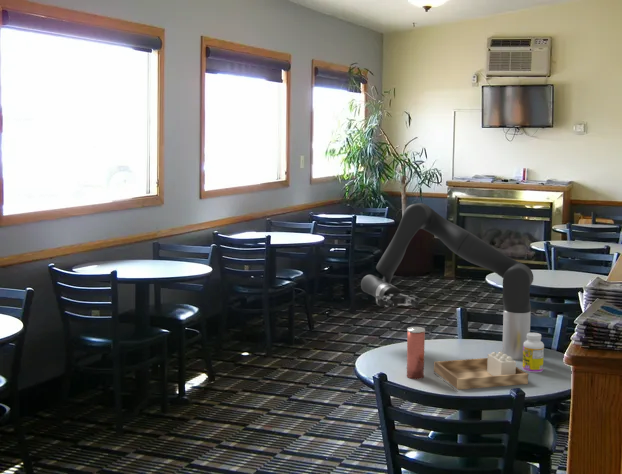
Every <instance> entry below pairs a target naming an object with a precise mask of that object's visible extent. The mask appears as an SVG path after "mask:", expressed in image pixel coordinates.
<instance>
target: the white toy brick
mask: <svg viewBox="0 0 622 474" xmlns="http://www.w3.org/2000/svg"><path fill="white" fill-rule="evenodd" d="M487 358H488V360H487V372H488V373H490V374H491V375H493V376H497V375H510V374H516V367H517V360H516V361H515V360H513V359H512V357H510V356H508V355H507V354H503V352H502V350H500V351H498V353H497V352H496V351H492V352H491V353H487Z"/></svg>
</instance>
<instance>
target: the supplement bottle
mask: <svg viewBox="0 0 622 474" xmlns="http://www.w3.org/2000/svg"><path fill="white" fill-rule="evenodd" d="M541 340H542V334H541V333H538V332H531V333H527V341H525V342H524V344H523V360H522V371H524V372H527V373H542V372H544V353H545V351H544V350H545V344H544V342H543V341H541Z"/></svg>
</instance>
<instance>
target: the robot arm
mask: <svg viewBox="0 0 622 474" xmlns="http://www.w3.org/2000/svg"><path fill="white" fill-rule="evenodd" d="M419 230H424V231H425V232H428V233H430V234H431V235H433V236H435V237H436V238H438V240H440V242H442V243H443V244H444V245H445V246H446V247H447V248H448V249H449V250H450V251H451V252H453V253H454V254H455V255H457V256H459V257H460V258H462V260H465V261H467V262H468V263H471V264H473V265H476V266H479V267H481V268H484V269H487V270H489V271H491V272H492V273H495V274H497V275H498V276H499V277H501V278H502V304H503V315H502V316H503V317H502V324H503V325H502V347H501V348H502V349H501V351H502V352H503V354H507V355H508V356H510V357H512V360H514V361H515V360H516V361H519V360H520V361H523V344H524V342H525V341H527V333H532V332H531V313H532V312H531V311H532V310H531V309H532V305H531V301H530V292H531V291H530V290H531V289H530V288H531V287H530V286H531V285H532V284H533V282H534V273H533V271H532V270H531V268H530V267H529V266H528V265H526V264H524V263H522V262H520V261H517V260H515V259H513V258H511V257H509V256H507V255H505V254H504V253H503V252H501V251H499V250H497V248H495V247H493V246H492V245H490V244H489V243H487V242H485V241H484V240H483V239H481V238H480V237H478V236H477V235H475V234H473V233H471V232H470V231H468V230H466V229H465V228H463V227H461V226H460V225H457V224H455V223H453V222H451V221H449V220H448V219H446V218H445V217H443V216H442V215H440V213H438V212H436V211H435V210H434V209H433V208H431V207H430V206H429V205H427V204H425V203H421V202H419V203H418V202H417V203H412V204H410V205H408V206H407V207H406V208H405V210H404V211H403V214H402V217H401V220H400V222H399V224H398V226H397V230H396V231H395V234H394V235H393V237H392V239H391V241H390V242H389V244H388V246H387V247H386V249H385V250H384V253H383V254H382V256H381V258H379V260H378V263H377V264H376V266H375V268H376V271H377V272H378V273H380V275H382V278H380V277H378V276H375V275H374V274H366V275H365V276H363V278H362V279H361V281H360V288H361V290H362V291H363V292H364V293H366V294H368V295H371V296H372V297H374V298H375V304H377V306H379V307H386V308H389V309H395V308H398V307H399V306H406V307H407V306H411V307H413V308H417V307H418V306H419V305H420V297H418V296H417V295H415V294H410V295H408V294H407V295H406V294H403V292H402V290H401V289H400V288H398V287H396V286H395V285H393V284H392V283H391V282H392V279H393V278H394V277H393V276H394V274H395V272H396V271H397V269H398V267H399V266H400V264H401V262H402V260H403V258H404V256H405V254H406V250H407V248H408V246H409V244H410V242H411V241H412V239H413V238H414V236H415V235H416V234H417V233H418V231H419Z"/></svg>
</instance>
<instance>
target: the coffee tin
mask: <svg viewBox="0 0 622 474" xmlns="http://www.w3.org/2000/svg"><path fill="white" fill-rule="evenodd" d="M406 331H407V335H406V336H407V339H406V341H407V342H406V378H408V379H411V380H422V379H424V378H425V347H426V346H425V345H426V344H425V342H426V341H425V338H426V336H425V335H426V334H425V333H426V328H425V327H421V326H410V327H407V328H406Z"/></svg>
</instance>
